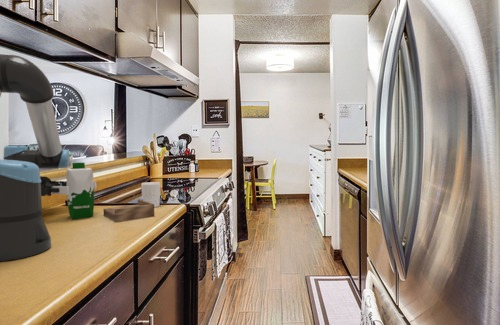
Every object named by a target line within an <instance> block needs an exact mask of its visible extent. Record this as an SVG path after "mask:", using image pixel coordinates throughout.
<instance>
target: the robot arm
mask: <svg viewBox="0 0 500 325" xmlns="http://www.w3.org/2000/svg"><path fill="white" fill-rule="evenodd" d="M2 93H4V94H5V93H7V94H13V93H14V94H18V95H19V97H20V100H22V101H23V102H24V103H25V105H26V109H27V111H28V112H27V113H28V115H29V119H30V121H31V122H30V123H31V127H32V130H33V133H34V136H35V140H36V144H37V147H38V149H28V147H27V145H5V146H4V148H3V158H2V159H0V262H5V261H13V260H18V259H24V258H29V257H32V256H35V255H38V254H41V253H44V252H46V251H48V250H49V249H50V248H51V247H52V238H51V235H50V233H49V230H48V229H47V225H46V224H45V221H44V219H43V214H42V213H43V211H42V210H43V208H42V206H43V205H42V197H46V196H47V197H50V196H52V195H67V194H69V186H67V180H66V181H65V180H60V181H59V180H58V181H57V180H51V179H50V178H49V177H48V176H41V174H40V170H41V169H42V170H43V169H44V170H47V169H48V170H49V169H51V170H52V169H53V170H54V169H55V170H56V169H57V170H58V169H68V168H69V166H70V159H71V158H70V151H69V150H68V149H62V143H61V140H60V139H61V138H60V136H59V130H58V125H57V121H56V116H55V110H54V106H53V98H54V91H53V87H52V84H51V82H50V80H49V79H48V77H47V76H46V74H45V73H44V72H43V71H42V70H41V69H40V67H38V66H37V65H36V63H34V62H32V61H31V60H29V59H27V58H25V57H22V56H21V55H20V56H19V55H14V54H5V53H4V54H3V53H2V54H1V53H0V97H2V96H1V95H2ZM93 183H94V190H97V186H98V185H97V181H93Z"/></svg>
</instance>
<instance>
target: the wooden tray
mask: <svg viewBox="0 0 500 325" xmlns="http://www.w3.org/2000/svg"><path fill="white" fill-rule="evenodd" d="M102 210H103V217H105V216H106V217H105V218H107V219H110V220H111V221H113V222H114V223H120V222H127V221H128V222H129V221H133V220H138V219H144V218H145V219H146V218H152V217H155V207H154V204H152V203H149V202H146V201H143V199H139V198H138V199H137V204H132V205H131V204H130V205H122V206H116V207H109V208H108V207H107V208H103V209H102Z"/></svg>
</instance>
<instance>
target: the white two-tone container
mask: <svg viewBox="0 0 500 325" xmlns="http://www.w3.org/2000/svg"><path fill="white" fill-rule="evenodd" d="M85 166H86V165H85V162H72V167H71V168H66V176H65V178H66V181H67V186H69V194H66V203H67V208H68V213H69V217H70V219H71V221H74V220H83V219H90V217H92V218H94V211H95V210H94V209H95V189H94V183H93V182H94V171H93V169H92V168H91V167H85Z"/></svg>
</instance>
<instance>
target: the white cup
mask: <svg viewBox="0 0 500 325" xmlns="http://www.w3.org/2000/svg"><path fill="white" fill-rule="evenodd" d="M140 185H141V198H142V199H141V200H143V201H146V202H149V203H152V204H154V208H157V207H160V203H161V202H160V201H161V182H158V181H157V182H156V181H150V182H147V181H146V182H142V183H140Z"/></svg>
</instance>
